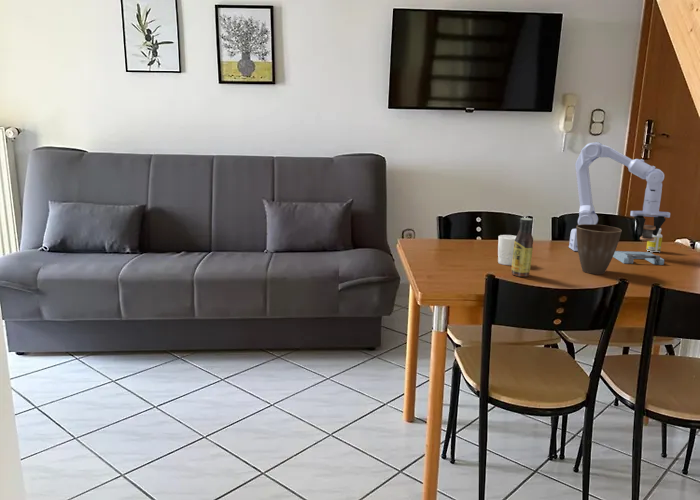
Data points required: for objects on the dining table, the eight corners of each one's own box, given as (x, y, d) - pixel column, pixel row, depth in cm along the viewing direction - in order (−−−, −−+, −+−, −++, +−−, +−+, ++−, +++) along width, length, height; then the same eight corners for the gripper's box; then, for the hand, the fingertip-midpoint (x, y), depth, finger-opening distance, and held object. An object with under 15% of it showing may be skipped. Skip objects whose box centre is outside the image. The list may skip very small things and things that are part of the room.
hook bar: (628, 263, 232) (629, 255, 231) (626, 262, 234) (627, 254, 233) (659, 264, 232) (660, 256, 231) (657, 263, 233) (658, 255, 233)
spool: (643, 241, 238) (644, 227, 237) (637, 238, 243) (638, 225, 242) (656, 241, 238) (658, 227, 237) (650, 238, 243) (652, 224, 242)
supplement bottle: (657, 250, 257) (660, 227, 255) (662, 253, 252) (665, 230, 250) (643, 249, 258) (647, 227, 256) (648, 252, 253) (652, 229, 250)
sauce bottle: (508, 272, 213) (513, 216, 209) (525, 272, 214) (531, 216, 209) (514, 277, 207) (520, 219, 202) (532, 277, 207) (538, 220, 203)
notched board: (623, 263, 232) (624, 258, 232) (610, 255, 245) (611, 250, 244) (663, 264, 232) (664, 259, 231) (648, 256, 244) (649, 252, 244)
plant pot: (579, 264, 228) (584, 222, 225) (621, 271, 219) (627, 228, 216) (565, 271, 217) (570, 227, 214) (608, 279, 208) (614, 233, 204)
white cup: (518, 262, 229) (521, 236, 227) (517, 266, 222) (519, 239, 220) (497, 259, 232) (499, 234, 230) (495, 264, 225) (497, 237, 222)
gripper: (637, 201, 233) (632, 236, 236) (676, 202, 233) (670, 237, 236) (630, 198, 240) (625, 232, 243) (667, 200, 240) (662, 234, 243)
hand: (647, 234), depth 240 cm, fingers closed on spool, 5 cm apart
